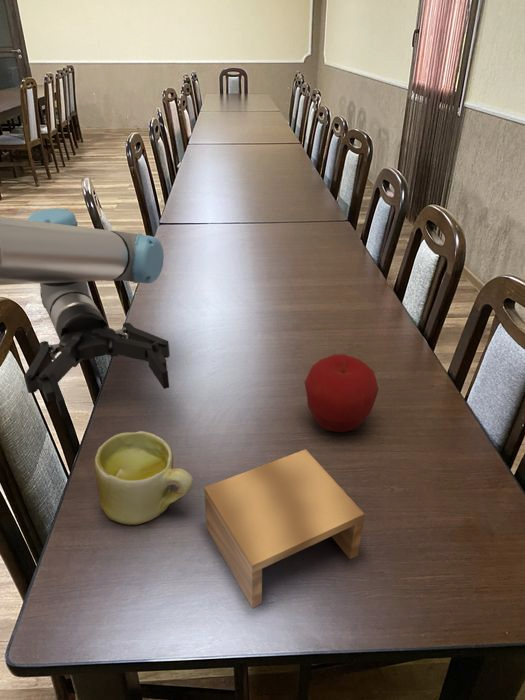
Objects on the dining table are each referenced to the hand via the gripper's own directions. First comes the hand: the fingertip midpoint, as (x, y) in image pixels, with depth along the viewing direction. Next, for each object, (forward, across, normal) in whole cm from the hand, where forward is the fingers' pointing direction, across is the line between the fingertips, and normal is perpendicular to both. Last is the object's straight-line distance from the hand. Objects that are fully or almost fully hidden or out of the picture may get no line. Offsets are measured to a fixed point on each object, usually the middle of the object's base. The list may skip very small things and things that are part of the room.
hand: (116, 394), depth 70 cm
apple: (+8, -31, -12) cm, 34 cm away
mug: (+10, 0, -11) cm, 15 cm away
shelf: (+23, -12, -11) cm, 28 cm away
